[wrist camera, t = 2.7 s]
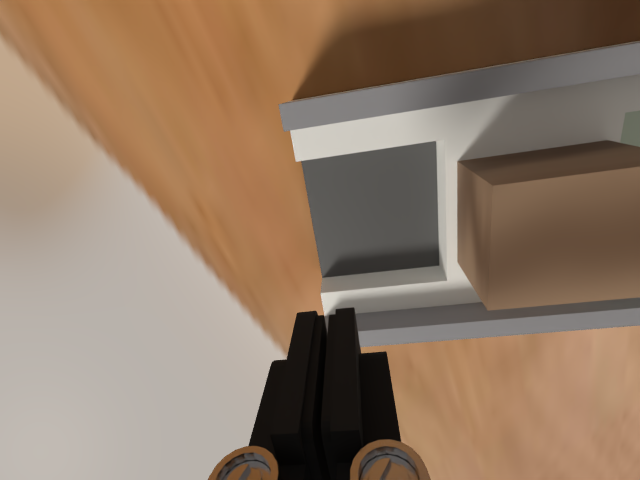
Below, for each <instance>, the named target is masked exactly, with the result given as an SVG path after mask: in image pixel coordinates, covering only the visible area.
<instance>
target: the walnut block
mask: <svg viewBox="0 0 640 480" xmlns="http://www.w3.org/2000/svg"><path fill="white" fill-rule="evenodd" d="M457 262H458V264H459V266H460V267H461V269H462V270H463V272H464V274H465V275H466V277H467V278H468V280H469V282H470V283H471V285H472V286H473V288H474V290H475V291H476V293H477V294H478V296H479V298H480V299H481V301H482V302H483V304H484V306H485V307H486V309H487V310H488V311H489V310H500V309H512V308H523V307H535V306H546V305H558V304H569V303H580V302H592V301H603V300H615V299H626V298H638V297H640V147H638V146H633V145H628V144H624V143H619V142H614V141H610V140H604V141H597V142H590V143H583V144H576V145H569V146H562V147H555V148H547V149H540V150H533V151H526V152H519V153H512V154H505V155H498V156H491V157H484V158H476V159H469V160H462V161H457Z"/></svg>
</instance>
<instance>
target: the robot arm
mask: <svg viewBox="0 0 640 480" xmlns="http://www.w3.org/2000/svg"><path fill="white" fill-rule="evenodd" d="M208 480H431V479H430V476H429V474H428V471H427V468H426V466H425V464H424V462H423V461H422V459H421V457H420V456H419V455H418V454H417V453H416V452H415V451H414V450H413V449H412V448H411V447H409V446H407V445H406V444H404V443H402V442H401V438H400V432H399V426H398V420H397V413H396V407H395V401H394V395H393V389H392V383H391V377H390V370H389V364H388V358H387V353H386V352H375V353H362V354H361V350H360V342H359V335H358V328H357V321H356V314H355V308H354V307H351V308H341V309H336V311H335V314H331V315H329V319H328V333H327V328H326V323H325V318H324V315H320V316H318V314H317V312H316V311H310V312H299V313H297V316H296V320H295V325H294V329H293V334H292V338H291V343H290V347H289V352H288V356H287V360H276V361H273V362H272V364H271V367H270V370H269V374H268V378H267V381H266V385H265V388H264V392H263V396H262V399H261V403H260V406H259V410H258V413H257V417H256V421H255V424H254V428H253V432H252V435H251V439H250V443H249V446H246V447H243V448H240V449H237V450H235V451H233V452H232V453H230V454H229V455H227V456H225V457H224V458H223V459H222V460H221V461H220V462H219V463H218V464H217V465H216V467H215V468H214V470H213V472H212V473H211V475H210V476H209V478H208Z"/></svg>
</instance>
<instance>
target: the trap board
mask: <svg viewBox="0 0 640 480" xmlns="http://www.w3.org/2000/svg"><path fill="white" fill-rule="evenodd" d="M279 109H280V114H281V119H282V125H283V130H284V131H290V132H291V138H292V143H293V149H294V154H295V159H296V162H298V161H301V162H302V168H303V173H304V179H305V184H306V190H307V195H308V201H309V206H310V212H311V218H312V223H313V229H314V234H315V240H316V245H317V251H318V256H319V262H320V267H321V273H322V285H321V299H322V304H323V309H324V315H325V323H326V328H327V333H328V319H329V315H331V314H335V311H336V309H341V308H351V307H354V308H355V314H356V321H357V328H358V335H359V342H360V347H368V346H381V345H394V344H407V343H420V342H433V341H445V340H458V339H471V338H484V337H497V336H510V335H523V334H535V333H548V332H561V331H574V330H587V329H600V328H613V327H625V326H638V325H640V297H638V298H626V299H615V300H603V301H592V302H580V303H569V304H558V305H546V306H535V307H523V308H512V309H500V310H489V311H488V310H487V309H486V307H485V306H484V304H483V302H482V301H481V299H480V298H479V296H478V294H477V293H476V291H475V290H474V288H473V286H472V285H471V283H470V282H469V280H468V278H467V277H466V275H465V274H464V272H463V270H462V269H461V267H460V266H459V264H458V262H457V161H462V160H469V159H476V158H484V157H491V156H498V155H505V154H512V153H519V152H526V151H533V150H540V149H547V148H555V147H562V146H569V145H576V144H583V143H590V142H597V141H604V140H610V141H614V142H619V143H624V144H628V145H633V146H638V147H640V41H635V42H629V43H624V44H618V45H612V46H606V47H600V48H594V49H589V50H583V51H577V52H571V53H565V54H560V55H554V56H548V57H542V58H536V59H531V60H525V61H519V62H513V63H507V64H502V65H496V66H490V67H484V68H478V69H473V70H467V71H461V72H455V73H449V74H443V75H438V76H432V77H426V78H420V79H414V80H409V81H403V82H397V83H391V84H385V85H380V86H374V87H368V88H362V89H356V90H351V91H345V92H339V93H333V94H327V95H322V96H316V97H310V98H304V99H298V100H293V101H289V102H286V103H282V104H279Z"/></svg>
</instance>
